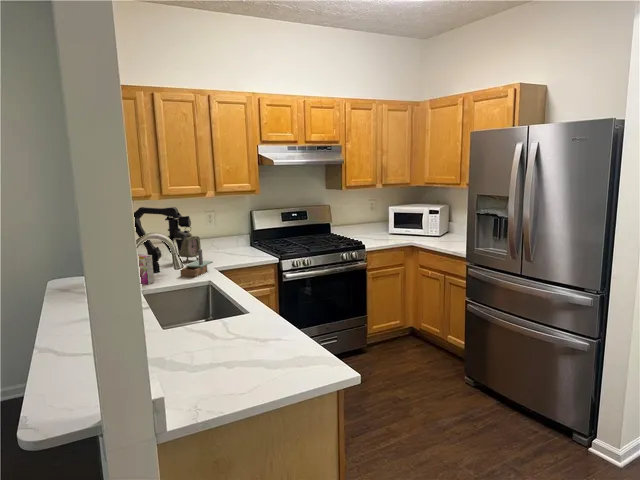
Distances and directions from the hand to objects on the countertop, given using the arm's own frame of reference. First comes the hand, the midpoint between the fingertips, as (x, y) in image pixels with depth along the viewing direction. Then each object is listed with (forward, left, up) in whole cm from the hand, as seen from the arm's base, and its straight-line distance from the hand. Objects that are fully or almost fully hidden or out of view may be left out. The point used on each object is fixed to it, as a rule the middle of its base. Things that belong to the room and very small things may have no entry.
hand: (175, 251), depth 274 cm
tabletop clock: (+21, +23, -13) cm, 34 cm away
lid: (+10, -12, -8) cm, 18 cm away
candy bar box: (-26, -12, -13) cm, 32 cm away
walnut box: (+4, -15, -13) cm, 21 cm away
